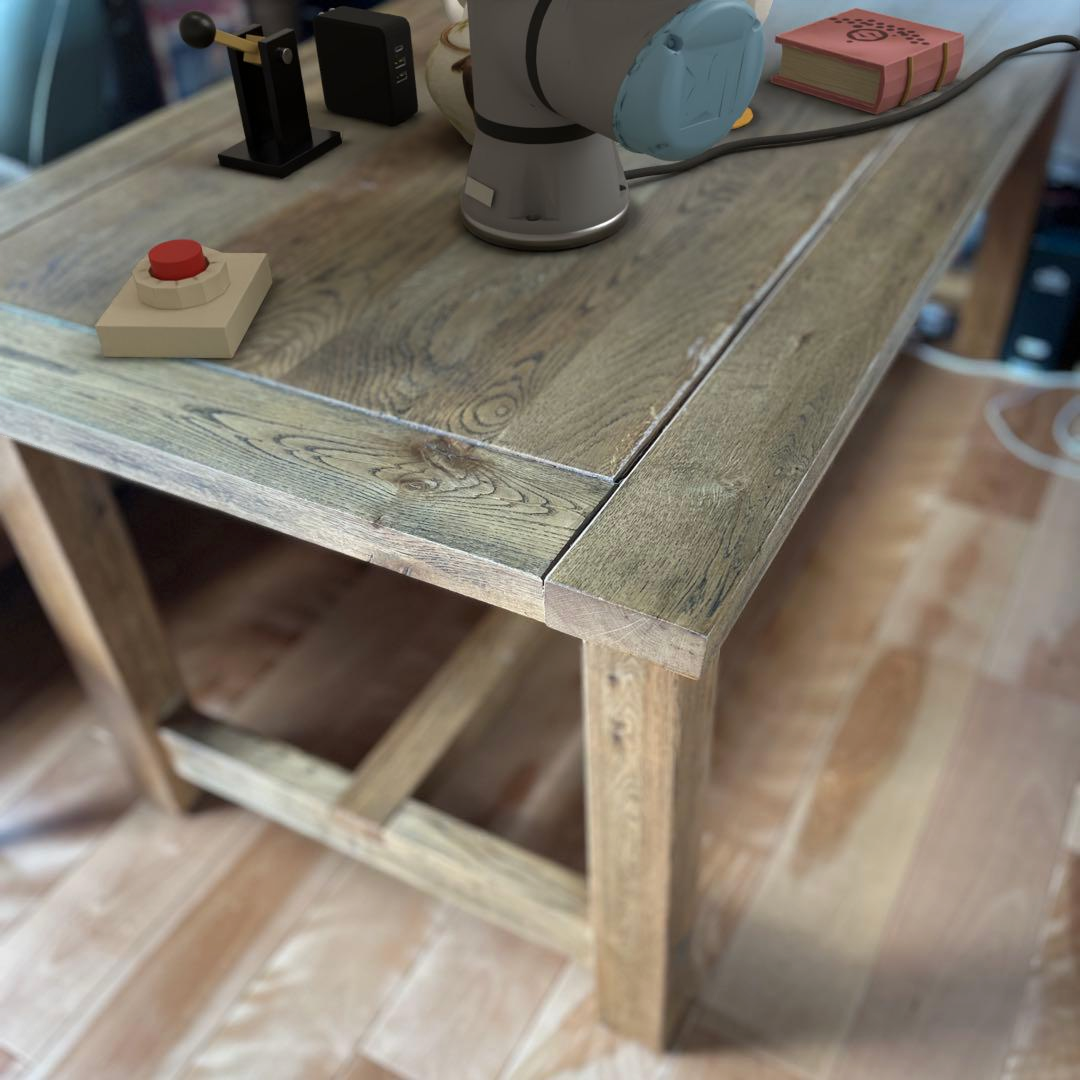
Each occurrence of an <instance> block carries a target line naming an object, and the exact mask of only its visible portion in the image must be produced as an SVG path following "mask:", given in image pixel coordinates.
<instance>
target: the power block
mask: <svg viewBox="0 0 1080 1080" xmlns="http://www.w3.org/2000/svg"><path fill="white" fill-rule="evenodd" d="M201 247H202V251H203V255H204V259H205V263H206V270H205V271H204V272H202V273H200V274H198V275H196V276H194V277H191V278H187V279H183V280H178V281H161V280H158V279H156V278H155V277H154V275H153V271H152V268H151V264H150V261H149V257H148V253H147V254H146V256H145V257H144V258H143V259H140V261H139V262H138V263H137V264H136V266H135V267H134V269H133V270H132V271H131V275H130V277H129V279H127V281H126V282H125V283H124V285H123V286H122V288H121V289H120V291H119V292H118V293H117V294H116V296H115V297H114V299H113V300H112V301H111V303H110V304H109V305H108V307H107V309H105V311H104V312H103V314H102V315H101V316H100V318H99V319H98V321H97V322H96V323H95V325H94V329H95V332H96V335H97V339H98V341H99V344H100V347H101V349H102V353H103V356H104V357H105V358H106V357H107V358H169V359H171V358H173V359H174V358H176V359H178V358H179V359H183V358H184V359H233V358H234V356H235V354H236V353H237V350H238V348H239V347H240V345H241V343H242V341H243V340H244V337H245V335H246V333H247V331H248V330H249V328H250V326H251V324H252V322H253V320H254V319H255V317H256V315H257V313H258V311H259V309H260V307H261V305H262V304H263V302H264V300H265V298H266V296H267V294H268V292H269V290H270V288H271V287H272V285H273V278H272V271H271V267H270V262H269V257H268V253H267V252H221V251H219V250H216V249H213V248H210V247H207V246H201Z"/></svg>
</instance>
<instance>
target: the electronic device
mask: <svg viewBox="0 0 1080 1080" xmlns="http://www.w3.org/2000/svg"><path fill="white" fill-rule="evenodd" d="M312 29H313V37H314V42H315V48H316V55H317V62H318V68H319V75H320V81H321V87H322V88H321V89H322V94H323V101H324V105H325V107H326V109H327V110H328V111H330V112H331V113H334V114H338V115H342V116H347V117H350V118H356V119H359V120H363V121H367V122H372V123H376V124H379V125H385V126H388V127H389V126H394V125H396V124H397V123H399V122H403V121H404V120H406V119H408V118H409V117H411V116H414V115H415V114H417V113H418V112H419V103H418V102H419V101H418V91H417V81H416V70H415V62H414V51H413V41H412V33H411V32H412V29H411V25H410V22H409V21H408V19H407V18H406V17H404V16H402V15H397V14H396V15H395V14H391V13H384V12H381V11H374V10H369V9H361V8H357V7H352V6H347V5H340V6H338V7H335V8H334V7H333V8H332V7H331V8H329V9H328V11H325V12H322V11H320V12H319V13H318V14H317V15H315V16H314V17H313V18H312Z"/></svg>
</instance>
